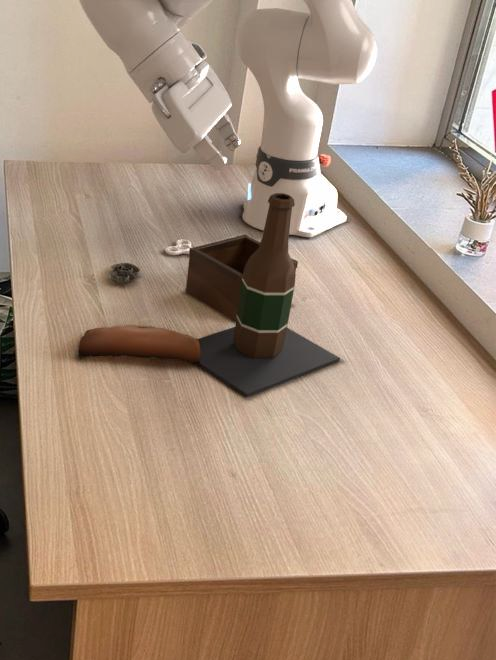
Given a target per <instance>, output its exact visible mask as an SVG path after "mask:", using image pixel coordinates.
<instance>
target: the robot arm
mask: <svg viewBox="0 0 496 660" xmlns="http://www.w3.org/2000/svg"><path fill="white" fill-rule="evenodd" d="M78 1H79V4H80V6H81V8H82V10H83V12H84V14H85V15H86V17H87V19H88V20H89V22H90V24H91V25H92V27H93V28H94V30H95V31H96V32H97V34H98V35H99V37H100V38H101V40H102V41H103V43H104V44H105V45H106V47H108V48H109V49H110V50H111V51H112V52H114V53H115V54H116V55H117V56H118V58H119V59H120V60H121V62H122V65H123V67H124V69H125V72H126V73H127V74H128V76H129V78H130V79H131V80H132V81H133V83H134V84H135V86H136V87H137V88H138V90H139V91H140V93H141V94H142V95H143V96H144V97H145V99H146V100H147V102H148V103H149V104H151V111H152V113H153V115H154V118H155V120H156V121H157V123H158V124H159V125H160V128H162V130H163V132H164V133H165V135H166V136H167V138H168V139H169V141H170V142H171V143H172V145H173V146H174V148H175V149H176V150H178V151H179V152H180V153H182V154H186V153H188V152H189V151H190V150H192V149H193V150H194V151H195V152H196V153H197V155H199V156H200V157H201V158H203V159H204V160H205V161H206V162H208V163H209V165H210V166H211V167H212V169H213V170H214V171H219V170H221V169H222V168H223V167H224V166H226V164H227V162H228V158H227V157H226V156H225V155H224V153H223V152H222V150H221V149H220V150H218V148H216V146H215V145H213V143H212V140H211V138H210V137H209V135H208V134H209V133H210V131H211V130H212V129H213V128H215V130H216V131H218V132H219V134H220V135H221V137H222V139H223V144H224V145H225V146H226V148H227V150H229V151H230V152H232V151H235V150H236V149H237V148H238V147H240V145H241V144H242V140H241V138H240V137H239V135H238V134H237V133H236V130H235V127H234V125H233V123H232V119H231V118H230V117H229V114H227V112H228V111H229V110H230V109H231V108H232V106H233V103H232V100H231V97H230V95H229V92H228V91H227V90H226V88H225V86H224V85H223V83H222V81H221V79H220V78H219V76H218V75H217V73H216V72H215V70H214V69H213V67H212V66H211V65H210V63H209V62H207V61H205V60H206V59H207V57H208V56H207V52H206V51H205V50H204V49H203V47H202V46H201V45H200V44H198V43H195V42H192V41H189V40H188V38H186V36H185V35H184V33H183V32H182V31H181V29H180V28H181V27H183V26H185V25H186V24H188V23H190V21H192V20H193V19H194V18H195V17H196V16H197V15H199V13H201V12H202V11H203V10H204V9H205V8H206V7H208V6H209V5H210V4H211V3H212V2H213V1H214V0H78ZM303 1H304V3H305V5H306V6H307V7H308V10H309V12H310V13H307V12H304V11H303V12H302V11H297V10H290V9H284V8H278V7H272V8H270V7H269V8H257V9H256V8H255V9H252V10H250V11H249V12H248V13H247V14H246V15H245V17H244V18H243V19H242V21H241V22H240V25H239V27H238V29H237V34H236V49H237V53H238V55H239V59H241V61H242V63H243V64H244V65H245V66H246V67H247V68H248V69H249V71H250V72H251V73H252V76H254V78H255V80H256V82H257V85H258V87H259V89H260V93H261V96H262V102H263V124H262V134H261V141H260V145H259V147H258V148H257V153H256V156H255V158H256V160H255V168H256V169H255V170H254V172H253V175H252V179H251V183H248V187H247V199H246V200H245V201H244V202H243V206H242V207H243V212H242V215H241V216H242V220H243V221H244V222H245V223H246V224H247V225H249V226H251V227H253V228H255V229H257V230H261V231H263V232H264V227H265V223H266V218H267V214H268V209H269V205H270V204H269V202H268V200H269V197H270V196H271V195H273V194H275V193H284V194H287V195H290V196H292V198H293V199H294V204H295V206H293V207H292V212H291V221H290V231H289V236H290V235H292V236H297V237H298V236H299V237H303V238H314V237H315V236H317V235H320V234H322V233H324V232H326V231H328V230H330V229H332V228H335V227H336V226H339V225H341V224H343V223H345V222H347V215H346V214H345V213H344V212H343V211H342V210H340V209H339V208H338V207H337V206H338V197H339V195H338V190H337V189H336V187H335V186H334V185H333V184H332V183H331V182H330V181H329V180H328V179H327V178H326V177H325V176H324V175H323V174H322V173H321V165H322V166H324V167H329V166H330V164H331V162H332V158H331V156H330V155H326V154H325V153H320V154H318V151H319V145H320V139H321V135H322V129H323V123H324V118H323V117H324V116H323V112H322V111H321V108H320V107H319V106H318V104H317V103H316V102H314V101H313V100H312V99H311V98H310V97H308V96H307V95H306V94H305V93H304V92H303V90H302V88H301V86H300V82H299V79H303V80H307V81H308V80H309V81H314V82H319V83H324V84H329V85H354V84H359V83H360V82H362V81H363V80H365V78H367V77H368V75H369V74H370V73H371V71H372V69H373V68H374V65H375V63H376V59H377V54H378V48H377V41H376V38H375V35H374V33H373V31H372V29H371V28H370V27H369V26H367V25H368V24H366V23H365V21H363V20H362V18H361V17H360V14H359V13H358V11H357V10H356V9H357V8H356V7H355V5H354V3H353V0H303Z"/></svg>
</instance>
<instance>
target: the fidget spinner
mask: <svg viewBox="0 0 496 660" xmlns="http://www.w3.org/2000/svg"><path fill="white" fill-rule="evenodd" d="M193 247H194V246H192V242H191V241H190V240H188V239H178V240H176V241H175V245H169V246H167V247H166V248H165V249H164V251H165V253H166V254H167V255H170V256H177V255H181V254H184V255H189V250H190V248H193Z"/></svg>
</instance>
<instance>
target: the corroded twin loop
mask: <svg viewBox="0 0 496 660" xmlns="http://www.w3.org/2000/svg"><path fill="white" fill-rule="evenodd" d="M110 268H111V269H112V271H111V272H108V276H109V277H110V280H111V281H112V282H113V283H114V284H117V285H121V286H123V285H128V284H132V283H134V282H135V280H136V279H137V276H138V274H139V272H140V271H141V269H140V268H139V267H138V266H136V265H135V264H132V263H129V262H120V263H115V264H112V265H111V266H110Z"/></svg>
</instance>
